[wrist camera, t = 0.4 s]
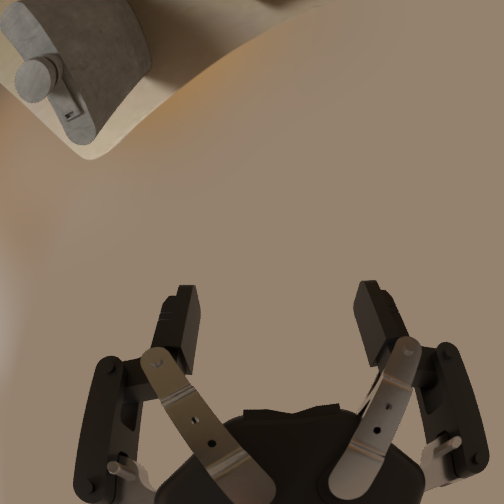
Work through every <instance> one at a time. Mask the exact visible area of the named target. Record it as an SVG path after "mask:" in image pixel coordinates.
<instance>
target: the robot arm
mask: <svg viewBox="0 0 504 504" xmlns="http://www.w3.org/2000/svg"><path fill="white" fill-rule="evenodd" d="M353 309H354V315H355V318H356V321H357V324H358V328H359V331H360V334H361V337H362V341H363V344H364V347H365V351H366V354H367V357H368V361H369V365H370V367H374V366H378V369H379V371H378V373H377V375H376V377H375V379H374V381H373V383H372V385H371V388H370V389H369V391H368V393H367V396H366V397H365V399H364V401H363V403H362V404H361V406H360V408H359V409H358V411H357V412H356V414H355V413H353V412H350V411H348V410H343V409H340V406H339V403H338V404H331V405H322V406H315V407H312V408H309V409H306V410H303V411H300V412H297V413H293V414H291V413H285V412H279V411H274V410H268V409H263V410H243V415H242V416H238V417H235V418H233V419H231V420H229V421H227V422H225V423H224V424H222V423H221V422H220V421H219V419H218V418H217V417H216V415H215V414H214V413H213V412H212V410H211V409H210V408H209V406H208V405H207V404H206V402H205V401H204V400H203V398H202V397H201V396H200V394H199V393H198V392H197V390H196V389H195V388H194V387H193V386H192V385H191V384H190V383H189V381H188V380H187V378H186V377H185V374H186V375H187V374H188V375H192V371H193V364H194V357H195V350H196V343H197V336H198V330H199V324H200V313H201V312H200V304H199V300H198V295H197V291H196V286H195V285H179V287H178V291H177V295H176V296H169V297H168V298H167V299H166V300H165V302H164V303H163V305H162V308H161V314H160V315H159V321H158V322H157V326H156V330H155V333H154V337H153V341H152V345H151V348H150V349H148V350H147V351H145V353H144V354H143V355H142V357H140V358H137V359H133V360H128V361H123V362H122V361H121V360H120V359H119V358H118V357H115V356H107V357H105V358H103V359H101V360H100V361H99V362H98V364H97V366H96V369H95V373H94V377H93V380H92V384H91V388H90V392H89V396H88V400H87V404H86V409H85V414H84V418H83V423H82V428H81V433H80V439H79V444H78V450H77V457H76V463H75V471H74V479H73V487H74V491H75V493H76V495H77V496H78V497H79V498H80V499H81V500H83V501H84V502H86V503H90V504H420V502H421V499H422V496H423V493H424V492H425V491H428V490H430V489H433V488H436V487H443V486H446V485H449V484H452V483H455V482H457V481H460V480H463V479H465V478H468V477H470V476H473V475H475V474H477V473H479V472H481V471H483V470H484V469H485V468H486V466H487V464H488V462H489V450H488V444H487V440H486V436H485V431H484V427H483V423H482V419H481V416H480V412H479V409H478V405H477V402H476V399H475V395H474V392H473V389H472V386H471V383H470V380H469V377H468V375H467V372H466V369H465V367H464V364H463V361H462V359H461V356H460V353H459V351H458V349H457V348H456V347H455V346H454V345H453V344H451V343H448V342H443V343H441V344H439V345H438V347H437V348H429V347H423V346H421V345H420V343H419V342H418V341H417V340H416V339H414V338H412V337H410V336H409V334H408V332H407V329H406V327H405V325H404V322H403V320H402V318H401V316H400V313H398V309H397V307H396V304H395V303H394V300H393V298H392V297H391V295H390V294H389V293H388V292H387V291H386V290H381V289H380V287H379V285H378V283H377V281H376V280H369V281H361V282H360V284H359V287H358V291H357V294H356V298H355V301H354V307H353ZM412 387H414V388H415V392H416V395H417V400H418V404H419V408H420V413H421V417H422V421H423V426H424V432H425V437H426V443H427V445H426V446H425V447H424V449H423V451H422V457H421V464H420V466H419V465H418V464H417V463H416V462H414V461H413V460H412V459H411V458H409V457H408V456H407V455H406V454H404V453H403V452H402V451H401V450H400V449H398V448H397V447H396V446H395V445H394V444H392V443H391V441H392V440H393V437H394V435H395V433H396V431H397V429H398V426H399V424H400V422H401V419H402V417H403V415H404V412H405V410H406V407H407V405H408V402H409V399H410V397H411V394H412V390H413V389H412ZM158 398H159V399H160V401H161V403H162V406H163V407H164V409H165V411H166V412H167V414H168V415H169V417H170V419H171V420H172V422H173V423H174V425H175V426H176V428H177V429H178V431H179V433H180V434H181V436H182V437H183V438H184V440H185V441H186V443H187V444H188V446H189V447H190V448H191V450H192V451H193V452H194V454H193V455H192V456H191V457H190V458H189V459H188V460H187V461H186V462H185V463H184V464H183V465H182V466H181V467H180V468H179V469H178V470H176V471H175V472H174V473H173V474H172V475H171V476H170V477H169V478H168V479H167V480H166V481H165V482H164V483H163V484H162V485H161V486H160V487H159V488H158V490H157V491H156V490H155V489H153V488H152V486H151V485H150V483H149V480H148V474H147V471H146V470H145V468H144V467H143V466H142V465H141V464H139V463H137V451H138V441H139V432H140V423H141V415H142V407H143V401H148V400H153V399H158Z"/></svg>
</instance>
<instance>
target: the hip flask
mask: <svg viewBox="0 0 504 504" xmlns="http://www.w3.org/2000/svg"><path fill="white" fill-rule="evenodd" d="M0 27H1V31H2V33H3V34H4V35H5V36H6V37H7V39H8V40H9V41H10V42H11V43H12V45H13V46H14V47H15V48H16V50H17V51H18V52H19V54H20V55H21V56H22V58H23V59H24V61H25V63H23V64H22V65H21V66H20V67H19V69H18V70H17V72H16V76H15V87H16V90H17V93H18V94H19V96H20V97H21V98H22V99H24V100H25V101H27V102H30V103H36V102H39V101H42V100H43V99H44V98H45V97H46V96H47V98H48V99H49V101H50V103H51V105H52V107H53V109H54V110H55V112H56V114H57V116H58V118H59V120H60V122H61V124H62V126H63V128H64V131H65V133H66V135H67V137H68V138H69V139H70V140H71V141H72V142H74V143H76V144H78V145H87V144H90V143H91V142H92V141H93V140H94V139H95V137H96V136H97V135H98V133H99V132H100V130H101V129H102V127H103V126H104V125H105V123H106V122H107V121H108V119H109V118H110V117H111V115H112V114H113V113H114V111H115V110H116V109H117V107H118V106H119V105H120V104H121V102H122V101H123V100H124V99H125V97H126V96H127V95H128V94H129V93H130V91H131V90H132V89H133V88H134V87H135V86H136V84H137V83H138V82H139V81H140V80H141V79H142V78H143V77H144V75H145V74H146V73H147V72H148V71H149V70H150V68H151V66H152V60H151V56H150V52H149V48H148V45H147V42H146V39H145V36H144V33H143V31H142V29H141V26H140V24H139V22H138V20H137V18H136V16H135V14H134V12H133V10H132V8H131V6H130V5H129V3H128V1H127V0H19V1H17V2H14V3H12V4H10V5H9V6H8V7H7V8H6V9H5V11H4V12H3V14H2V17H1V22H0Z"/></svg>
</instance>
